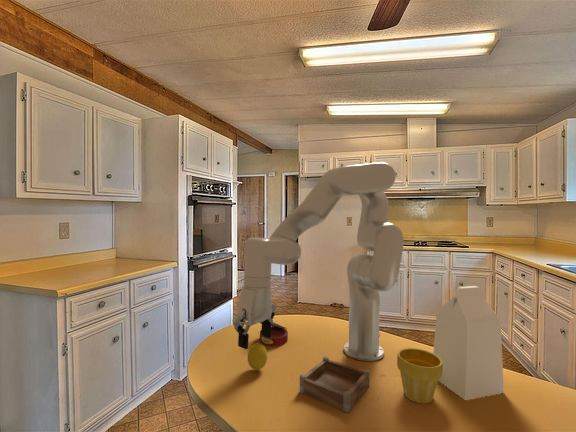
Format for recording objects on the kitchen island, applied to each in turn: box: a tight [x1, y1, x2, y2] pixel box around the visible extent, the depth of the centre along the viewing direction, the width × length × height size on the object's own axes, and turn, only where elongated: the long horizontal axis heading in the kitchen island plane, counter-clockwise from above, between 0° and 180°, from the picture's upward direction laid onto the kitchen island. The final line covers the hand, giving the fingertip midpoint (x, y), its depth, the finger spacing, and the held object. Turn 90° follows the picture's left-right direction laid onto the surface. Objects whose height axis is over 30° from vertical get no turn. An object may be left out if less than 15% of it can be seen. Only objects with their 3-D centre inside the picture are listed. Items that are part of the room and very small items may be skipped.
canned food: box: [259, 321, 289, 347], centre depth 109 cm, size 11×10×10 cm
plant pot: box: [396, 347, 443, 404], centre depth 77 cm, size 10×10×10 cm
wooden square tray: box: [299, 356, 371, 414], centre depth 80 cm, size 14×14×4 cm
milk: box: [432, 285, 505, 401], centre depth 82 cm, size 12×12×26 cm
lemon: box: [247, 342, 268, 372], centre depth 88 cm, size 6×6×8 cm
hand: (255, 341), depth 88 cm, fingers open, 9 cm apart
